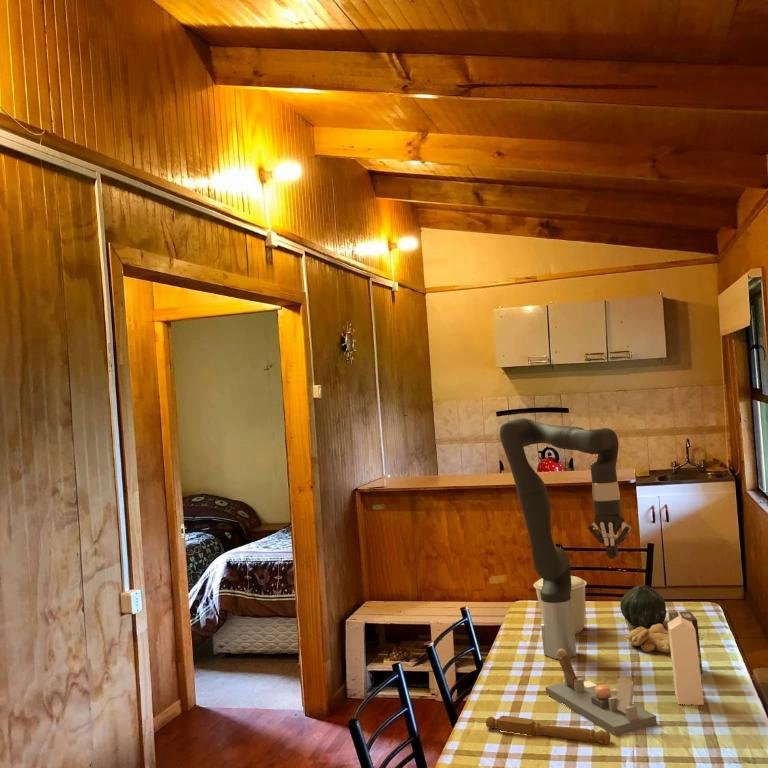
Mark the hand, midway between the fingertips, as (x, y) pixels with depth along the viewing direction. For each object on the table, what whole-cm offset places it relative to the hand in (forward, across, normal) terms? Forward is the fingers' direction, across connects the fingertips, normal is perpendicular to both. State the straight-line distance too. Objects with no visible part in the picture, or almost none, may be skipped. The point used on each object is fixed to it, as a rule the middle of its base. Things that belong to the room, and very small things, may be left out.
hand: (612, 558), depth 210 cm
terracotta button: (+29, +6, -26) cm, 40 cm away
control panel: (+33, +3, -25) cm, 42 cm away
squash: (+33, -12, +47) cm, 59 cm away
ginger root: (+33, -2, +25) cm, 42 cm away
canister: (+33, -34, +30) cm, 56 cm away
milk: (+33, +21, -10) cm, 41 cm away
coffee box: (+33, +15, +8) cm, 37 cm away
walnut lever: (+30, -6, -20) cm, 37 cm away
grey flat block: (+30, +12, -30) cm, 45 cm away
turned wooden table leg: (+34, -1, -45) cm, 56 cm away
